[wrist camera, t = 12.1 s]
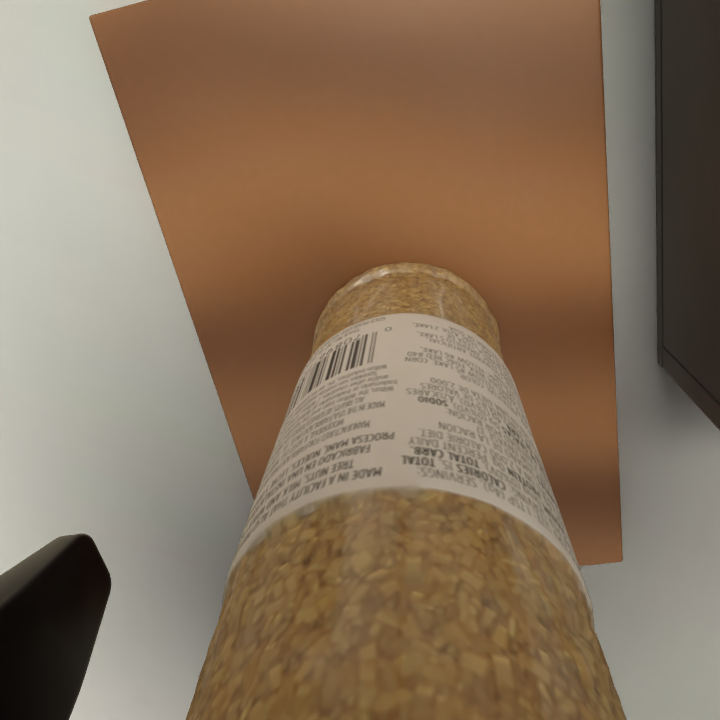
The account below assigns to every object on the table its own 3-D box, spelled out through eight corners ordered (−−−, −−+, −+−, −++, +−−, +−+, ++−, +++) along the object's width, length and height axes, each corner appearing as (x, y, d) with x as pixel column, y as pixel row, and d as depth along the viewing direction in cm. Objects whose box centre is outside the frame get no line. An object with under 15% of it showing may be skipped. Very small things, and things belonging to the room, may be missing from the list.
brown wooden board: (618, 550, 17) (623, 562, 17) (289, 584, 19) (286, 596, 18) (588, -113, 11) (596, -121, 11) (98, 17, 13) (86, 15, 12)
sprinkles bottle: (371, 450, 16) (257, 1609, 4) (278, 309, 14) (-390, 1511, 2) (532, 379, 15) (1094, 1763, 3) (449, 217, 13) (893, 1752, 1)
